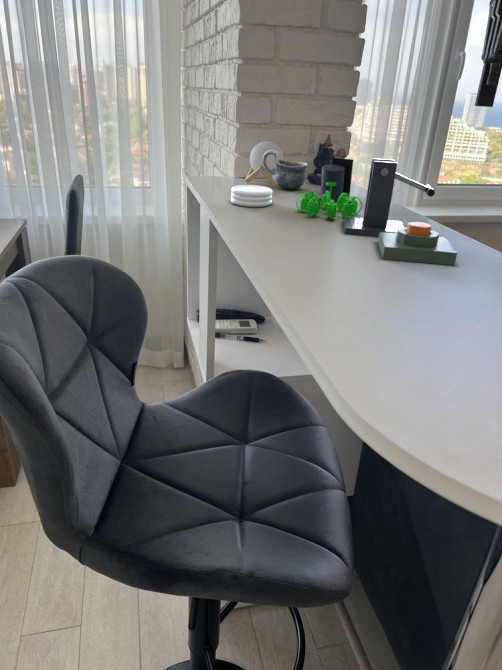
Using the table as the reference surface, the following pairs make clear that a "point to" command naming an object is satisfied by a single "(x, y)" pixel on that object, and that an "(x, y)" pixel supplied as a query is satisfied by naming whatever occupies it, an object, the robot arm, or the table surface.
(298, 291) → the table surface
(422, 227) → the stop button
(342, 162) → the speaker
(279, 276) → the table surface
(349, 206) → the chandelier
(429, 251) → the stop box
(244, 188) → the white stacked round discs
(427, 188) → the switch lever
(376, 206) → the switch bracket
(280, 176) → the mug
